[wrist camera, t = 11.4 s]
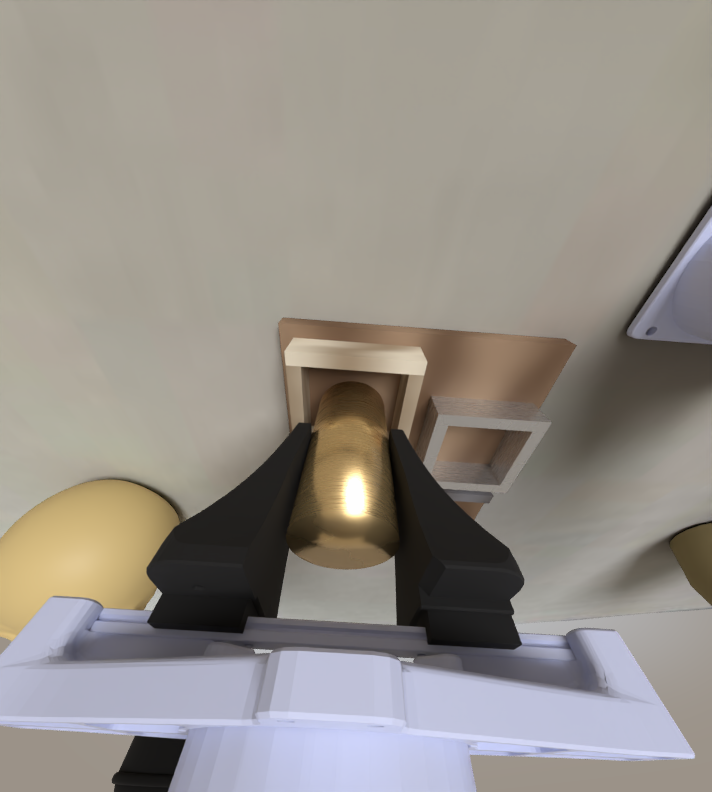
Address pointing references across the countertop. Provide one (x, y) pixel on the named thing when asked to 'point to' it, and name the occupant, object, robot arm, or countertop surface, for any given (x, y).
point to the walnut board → (443, 379)
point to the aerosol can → (149, 765)
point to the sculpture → (82, 550)
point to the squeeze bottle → (696, 557)
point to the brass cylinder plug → (346, 484)
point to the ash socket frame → (359, 359)
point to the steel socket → (514, 417)
